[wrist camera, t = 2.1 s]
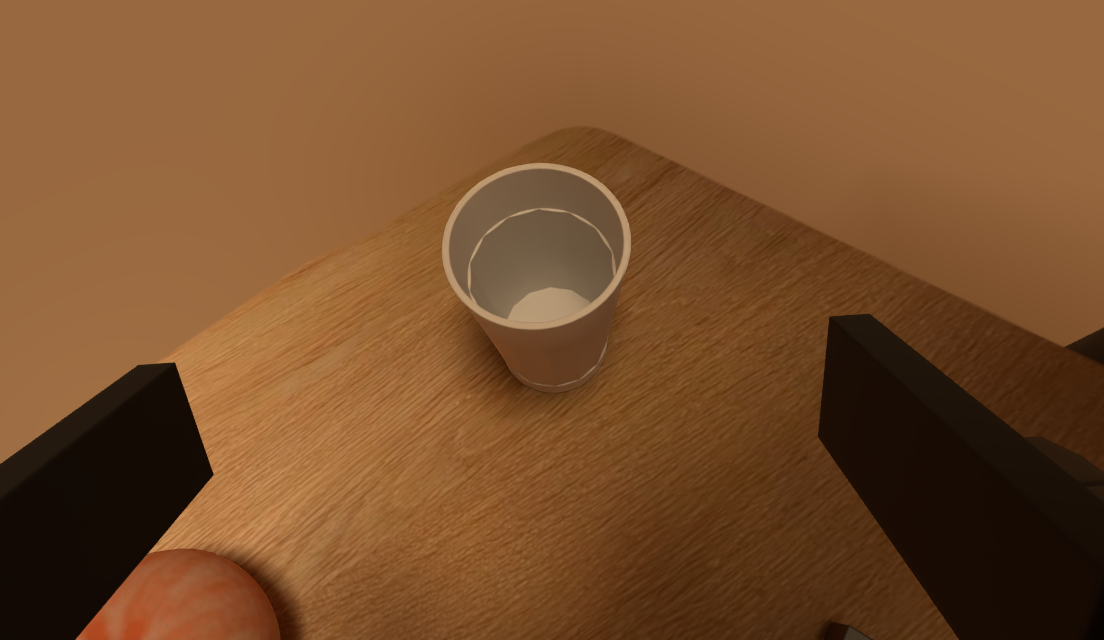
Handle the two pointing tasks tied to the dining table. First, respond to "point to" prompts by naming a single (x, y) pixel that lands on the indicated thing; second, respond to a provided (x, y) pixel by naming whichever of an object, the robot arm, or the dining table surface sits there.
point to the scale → (844, 633)
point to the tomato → (185, 602)
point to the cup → (540, 269)
